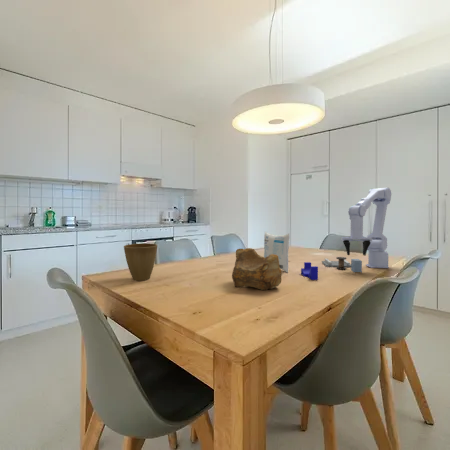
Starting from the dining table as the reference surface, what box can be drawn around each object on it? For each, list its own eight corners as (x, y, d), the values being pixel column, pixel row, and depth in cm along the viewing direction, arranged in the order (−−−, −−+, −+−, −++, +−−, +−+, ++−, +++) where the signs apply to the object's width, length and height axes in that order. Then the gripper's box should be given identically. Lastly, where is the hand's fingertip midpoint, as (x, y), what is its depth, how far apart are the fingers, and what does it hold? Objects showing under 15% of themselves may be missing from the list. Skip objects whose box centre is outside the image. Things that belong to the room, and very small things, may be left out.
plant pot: (118, 279, 130) (117, 245, 129) (146, 274, 141) (146, 242, 140) (135, 285, 120) (134, 248, 119) (164, 279, 131) (163, 244, 130)
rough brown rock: (217, 285, 121) (215, 252, 119) (245, 276, 131) (244, 245, 130) (257, 300, 103) (255, 260, 101) (285, 288, 114) (284, 252, 112)
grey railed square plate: (346, 262, 168) (346, 258, 168) (352, 267, 155) (352, 263, 154) (321, 262, 171) (321, 258, 170) (326, 266, 157) (326, 262, 157)
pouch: (281, 273, 140) (281, 234, 139) (259, 267, 157) (259, 231, 156) (293, 272, 144) (293, 233, 143) (270, 265, 161) (271, 231, 160)
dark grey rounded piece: (344, 267, 154) (345, 257, 154) (347, 269, 149) (347, 258, 149) (335, 267, 155) (335, 256, 154) (337, 269, 150) (337, 258, 149)
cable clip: (301, 274, 139) (301, 262, 139) (310, 274, 139) (310, 262, 139) (307, 280, 127) (308, 267, 127) (317, 280, 127) (317, 267, 127)
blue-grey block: (358, 270, 147) (358, 259, 147) (361, 272, 142) (361, 260, 141) (351, 270, 148) (351, 258, 148) (354, 272, 142) (354, 260, 142)
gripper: (343, 229, 141) (343, 256, 142) (374, 229, 139) (374, 256, 139) (340, 228, 148) (340, 253, 149) (369, 228, 145) (369, 254, 146)
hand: (356, 255), depth 144 cm, fingers open, 7 cm apart
